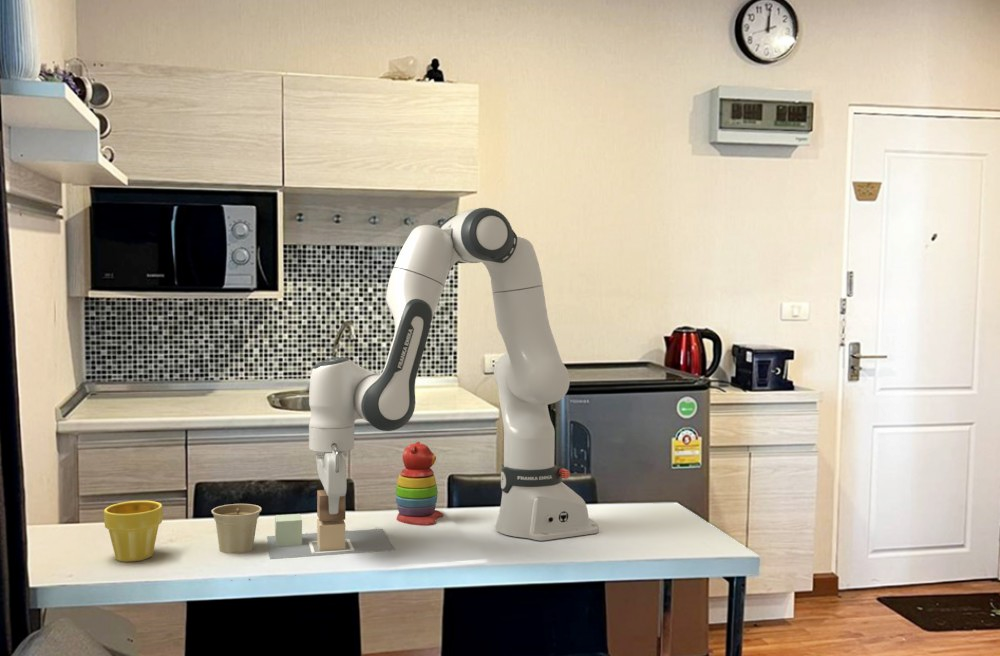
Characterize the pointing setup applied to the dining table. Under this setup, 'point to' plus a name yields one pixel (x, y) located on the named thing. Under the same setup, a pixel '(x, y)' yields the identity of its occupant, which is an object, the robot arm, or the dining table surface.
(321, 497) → the walnut block
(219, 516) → the flower pot
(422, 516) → the stacking bear
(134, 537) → the plant pot
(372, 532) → the building board
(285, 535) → the sage block
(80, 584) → the dining table surface
